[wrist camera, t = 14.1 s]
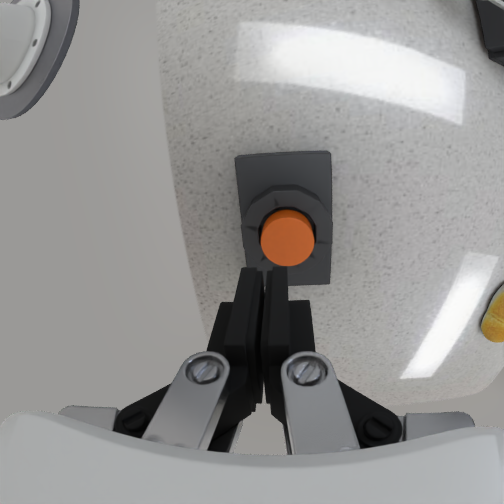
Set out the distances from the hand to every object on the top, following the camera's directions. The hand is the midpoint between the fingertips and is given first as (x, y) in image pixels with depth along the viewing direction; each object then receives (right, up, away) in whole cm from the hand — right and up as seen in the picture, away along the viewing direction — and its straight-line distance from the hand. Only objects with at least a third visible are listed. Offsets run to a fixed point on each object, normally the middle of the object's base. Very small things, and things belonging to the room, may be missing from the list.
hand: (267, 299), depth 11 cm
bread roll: (+32, -5, +14) cm, 35 cm away
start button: (+2, +3, +10) cm, 10 cm away
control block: (+2, +5, +12) cm, 13 cm away
